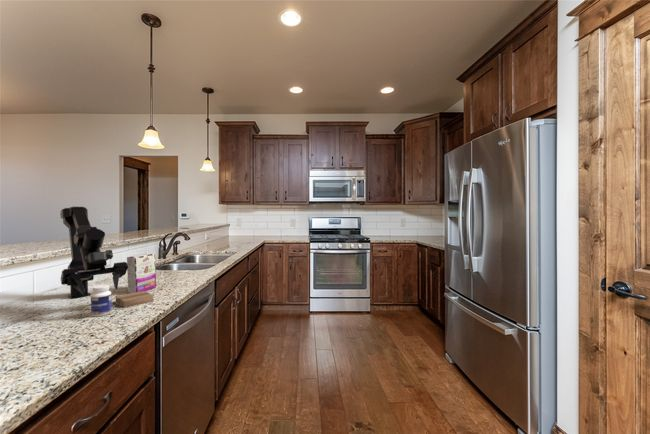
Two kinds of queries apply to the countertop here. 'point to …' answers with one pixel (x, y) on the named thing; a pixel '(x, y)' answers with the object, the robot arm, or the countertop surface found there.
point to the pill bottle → (101, 300)
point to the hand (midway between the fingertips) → (101, 291)
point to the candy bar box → (141, 272)
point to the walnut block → (134, 299)
